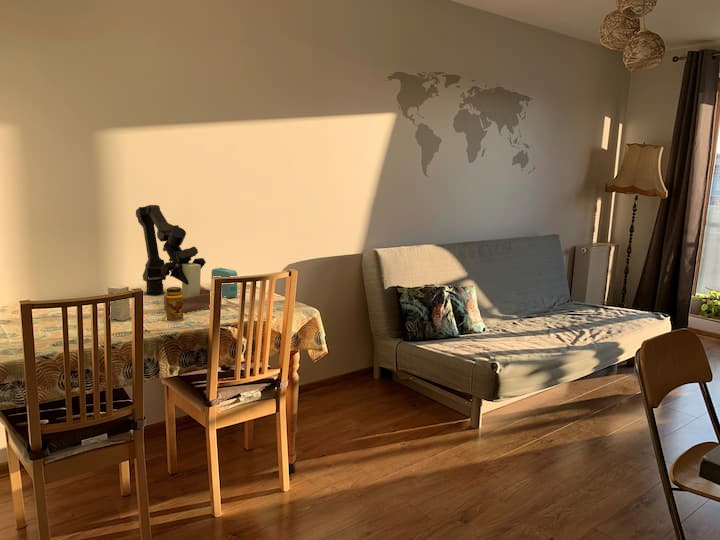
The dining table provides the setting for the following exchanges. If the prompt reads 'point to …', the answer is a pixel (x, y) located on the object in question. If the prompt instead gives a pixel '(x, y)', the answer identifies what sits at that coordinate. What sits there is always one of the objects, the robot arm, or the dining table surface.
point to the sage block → (191, 280)
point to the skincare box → (119, 304)
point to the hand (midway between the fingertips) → (193, 283)
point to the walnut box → (195, 301)
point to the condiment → (174, 305)
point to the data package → (227, 289)
